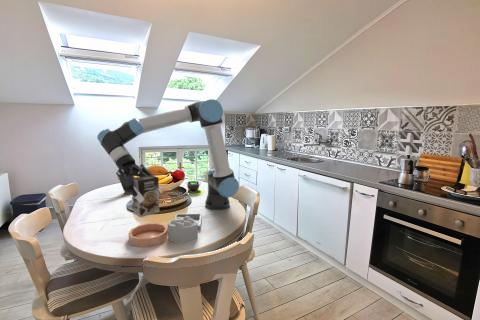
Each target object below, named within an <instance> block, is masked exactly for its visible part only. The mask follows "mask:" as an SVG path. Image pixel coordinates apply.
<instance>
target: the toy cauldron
mask: <svg viewBox="0 0 480 320" xmlns="http://www.w3.org/2000/svg"><path fill="white" fill-rule="evenodd" d="M190 179H192V177H190V178H189V179H188V180H187V181H186V182H185V185H186V186H187V187H186V188H187V190H188V193H189V195H188V196H198V195H202V194H204V190H202V189H200V186H201V184H202V182H201V181H199V180H190ZM189 180H190V181H189Z"/></svg>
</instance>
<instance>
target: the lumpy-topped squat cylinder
mask: <svg viewBox="0 0 480 320" xmlns="http://www.w3.org/2000/svg"><path fill="white" fill-rule="evenodd" d="M174 218H175V217H174ZM174 218H173V219H172V220H170V221H168V223H167V228H168V236H167V239H168V241H171V242H175V243H179V242H180V244H186V243H191V242H195V241H197V240H198V238H199V236H198V234H199V230H198V225H199V222H198V221H197V220H196V219H195V218H194V219H191V218H190V217H189V216H185V217H176V218H175V219H174Z"/></svg>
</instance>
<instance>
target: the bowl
mask: <svg viewBox="0 0 480 320" xmlns="http://www.w3.org/2000/svg"><path fill="white" fill-rule="evenodd" d="M167 239H168V226H166V225H165V224H163V223H159V222H147V223H144V224H143V223H142V224H138V225H137V226H135V227H133V228H131V229H130V230H129V232H128V242H129V243H130V246H133V247H134V246H135V247H137V248H147V247H152V246H153V247H154V246H156V245H159V244H162V243H163V242H165V241H166V240H167Z"/></svg>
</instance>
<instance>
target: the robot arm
mask: <svg viewBox="0 0 480 320" xmlns="http://www.w3.org/2000/svg"><path fill="white" fill-rule="evenodd" d="M223 114H224V109H223V106H222V104H221V102H220V101H218V100H217V99H215V98H205V99H204V98H203V99H200V100H198V101H196V102H193V103H190V104H187V105H185V106H184V107H183V108H178V109H174V110H171V111H170V110H169V111H167V112H163V113H159V114H155V115H149V116H147V117H143V118H136V117H134V118H131V119H130V120H128V121H125V122H124V123H122V125H121V126H119V127H118V128H116V129H114V130H113V129H111V128H105V129H103V130H101V131H100V132H99V133H97V137H96V138H97V140H98V142H99V144H100V146H101V148H103V149H104V151H105V152H106V153H107V155H109V158H111V160H112V162H113V163H115V166H116V167H117V168H118V169H117V171H116V173H115V174H116V176H117V177H118V179H119V181H120V184H121V187H122V190H123V191H127V192H131V194H130V195H131V196H132V197H133V196H134V197H136V199H137V200H138V202H139V203H142V202H143V200H144V198H143V196H142V195H141V194H140V192H139V191H138V190H137V188H136V187H134V188H133V178H132V176H133V177H136V178H138V177H145V176H155V175H154V174H153V173H152V172H151V171H149V169H147V168H146V166H145V165H144V164H143V163H142V164H140V165H138V164H136V160H135V158H134V157H133V156H132V155H131V153H130V151H129V150H128V149H127V147H126V146H125V145H126V144H127V143H129V142H130V141H132V140H133V139H135V138H136V137H138V136H141V135H142V134H146V133H149V132H154V131H157V130H160V129H161V130H162V129H165V128H169V127H172V126H176V125H180V124H183V123H187V122H189V123H195V122H199V123H200V124H199V125H200V128H202V129H203V130H204V132H205V136H206V141H207V145H208V148H209V153H210V157H211V162H212V167H213V169H208V171H207V196H206V198H205V199H206V200H205V202H204V206H205V208H207V209H210V210H225V209H228V208H229V207H230V205H231V204H230V199H229V198H232V197H233V196H235V195H236V194H237V193H238V191H239V188H240V183H239V181H238V180H237V178H236V177H235V173H234V170H233V169H232V168H231V167H230V163H229V158H228V154H227V149H226V144H225V140H224V136H223V132H222V124H223V118H222V117H223ZM125 175H126V177H125ZM126 179H127V180H126ZM162 194H163V191H162V190H161V189H160V187H159V197H160V195H162Z"/></svg>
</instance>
